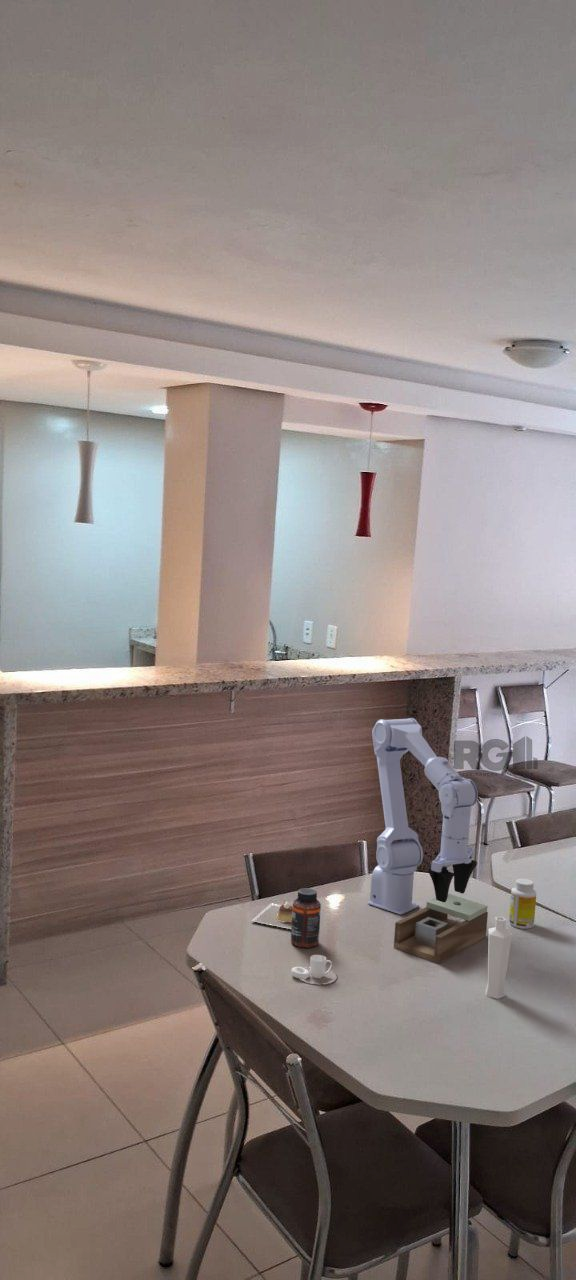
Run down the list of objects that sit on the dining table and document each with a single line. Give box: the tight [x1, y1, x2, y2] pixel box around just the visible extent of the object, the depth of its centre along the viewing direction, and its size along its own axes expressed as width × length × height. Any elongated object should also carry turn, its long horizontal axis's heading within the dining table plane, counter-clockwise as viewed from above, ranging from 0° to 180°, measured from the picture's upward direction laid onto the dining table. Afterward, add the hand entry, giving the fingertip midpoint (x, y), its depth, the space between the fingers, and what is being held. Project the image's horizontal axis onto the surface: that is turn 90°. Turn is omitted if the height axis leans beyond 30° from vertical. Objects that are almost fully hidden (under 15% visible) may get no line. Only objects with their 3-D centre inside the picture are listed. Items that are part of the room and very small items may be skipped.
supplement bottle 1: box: [290, 887, 322, 949], centre depth 210 cm, size 6×6×11 cm
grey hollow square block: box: [415, 917, 448, 948], centre depth 212 cm, size 5×5×4 cm
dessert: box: [250, 901, 293, 931], centre depth 223 cm, size 12×12×5 cm
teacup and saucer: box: [290, 954, 333, 982], centre depth 195 cm, size 9×8×4 cm
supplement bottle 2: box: [508, 878, 537, 930], centre depth 226 cm, size 6×6×10 cm
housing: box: [393, 907, 489, 965], centre depth 215 cm, size 11×20×6 cm, turn 141°
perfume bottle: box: [484, 916, 513, 1000], centre depth 191 cm, size 5×4×15 cm
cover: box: [425, 893, 489, 921], centre depth 219 cm, size 11×8×2 cm
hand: (450, 896), depth 216 cm, fingers open, 7 cm apart
